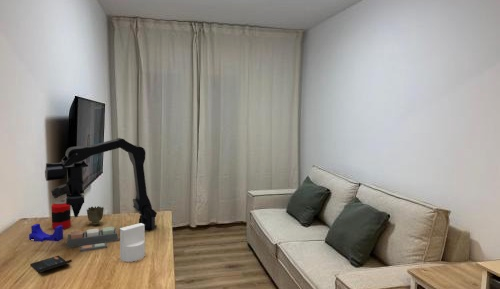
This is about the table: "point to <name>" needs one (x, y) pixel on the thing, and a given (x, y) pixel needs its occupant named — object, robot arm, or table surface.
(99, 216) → the cup
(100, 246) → the strip
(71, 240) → the keypad
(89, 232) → the cream key
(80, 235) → the terracotta key
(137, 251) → the cylinder with rectangular tab
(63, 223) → the soda can
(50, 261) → the calculator
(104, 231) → the sage key
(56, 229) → the cable clip
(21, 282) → the table surface
